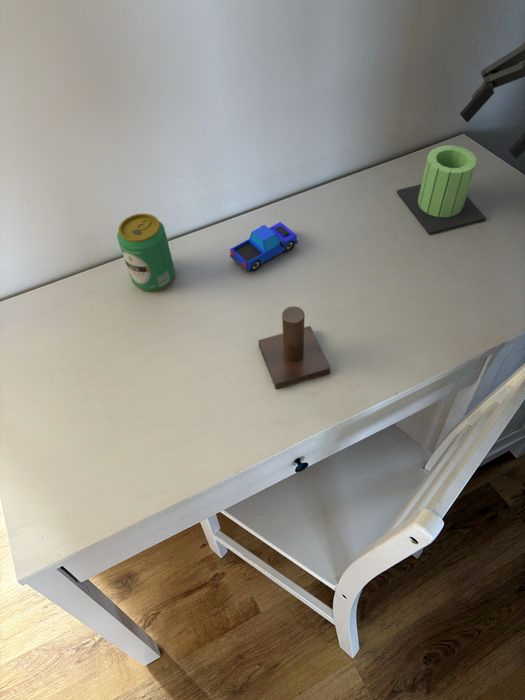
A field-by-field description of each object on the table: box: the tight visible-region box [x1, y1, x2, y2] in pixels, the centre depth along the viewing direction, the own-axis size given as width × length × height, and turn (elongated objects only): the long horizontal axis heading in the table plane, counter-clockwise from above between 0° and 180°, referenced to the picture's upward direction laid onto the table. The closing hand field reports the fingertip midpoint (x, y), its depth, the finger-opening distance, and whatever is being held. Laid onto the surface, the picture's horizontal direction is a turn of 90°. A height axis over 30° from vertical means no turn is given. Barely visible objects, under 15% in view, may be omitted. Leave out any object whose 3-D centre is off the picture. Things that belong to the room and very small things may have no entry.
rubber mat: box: [396, 183, 487, 235], centre depth 106 cm, size 14×12×1 cm
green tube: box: [418, 144, 478, 217], centre depth 102 cm, size 9×9×10 cm
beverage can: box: [116, 213, 176, 293], centre depth 94 cm, size 8×8×12 cm
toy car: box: [229, 221, 299, 273], centre depth 99 cm, size 7×12×5 cm, turn 127°
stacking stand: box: [257, 305, 332, 390], centre depth 81 cm, size 9×9×11 cm
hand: (486, 135), depth 98 cm, fingers open, 13 cm apart
